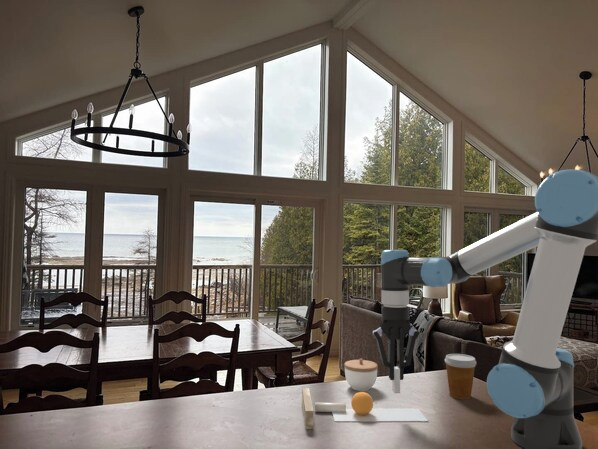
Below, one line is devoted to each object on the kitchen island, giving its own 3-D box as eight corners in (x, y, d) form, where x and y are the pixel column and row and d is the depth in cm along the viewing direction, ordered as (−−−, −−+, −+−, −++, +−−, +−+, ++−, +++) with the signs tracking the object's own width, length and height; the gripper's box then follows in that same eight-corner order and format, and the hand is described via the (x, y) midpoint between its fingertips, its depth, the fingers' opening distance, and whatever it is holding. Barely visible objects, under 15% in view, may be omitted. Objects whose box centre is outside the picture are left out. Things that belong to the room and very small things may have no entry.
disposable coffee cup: (444, 399, 142) (444, 359, 142) (444, 389, 151) (444, 352, 151) (477, 402, 139) (477, 362, 140) (475, 392, 148) (475, 354, 149)
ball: (343, 401, 129) (354, 420, 129) (357, 398, 125) (368, 418, 124) (355, 389, 133) (366, 408, 133) (369, 386, 129) (381, 405, 128)
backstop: (308, 403, 136) (308, 387, 136) (313, 428, 118) (313, 410, 119) (301, 403, 136) (302, 387, 136) (305, 428, 118) (305, 410, 118)
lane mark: (417, 409, 133) (417, 408, 133) (427, 421, 124) (427, 420, 124) (330, 409, 132) (331, 408, 132) (334, 421, 123) (334, 420, 123)
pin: (345, 409, 132) (315, 408, 132) (345, 401, 131) (315, 400, 132) (345, 414, 129) (315, 413, 130) (345, 406, 129) (315, 405, 129)
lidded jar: (376, 394, 145) (377, 364, 145) (342, 391, 147) (342, 362, 148) (377, 384, 156) (378, 355, 156) (345, 381, 158) (346, 353, 158)
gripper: (414, 303, 133) (415, 387, 132) (369, 303, 133) (370, 387, 131) (422, 307, 126) (423, 395, 125) (374, 307, 125) (375, 396, 124)
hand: (396, 391), depth 128 cm, fingers closed
